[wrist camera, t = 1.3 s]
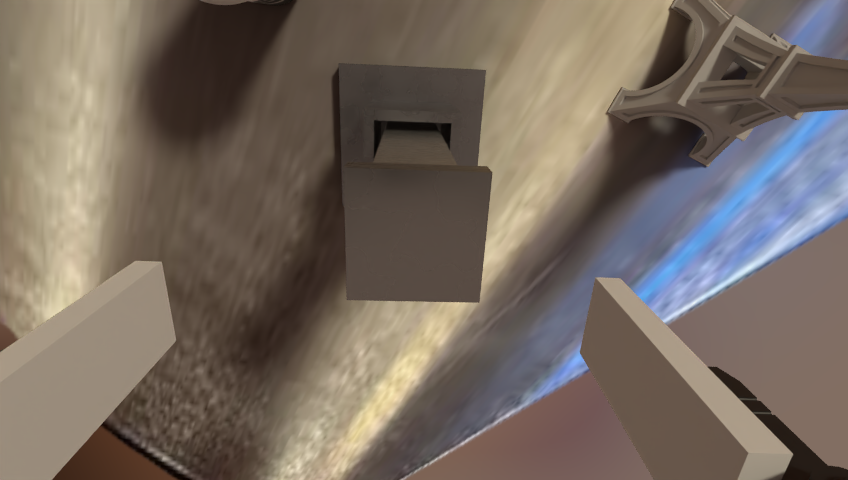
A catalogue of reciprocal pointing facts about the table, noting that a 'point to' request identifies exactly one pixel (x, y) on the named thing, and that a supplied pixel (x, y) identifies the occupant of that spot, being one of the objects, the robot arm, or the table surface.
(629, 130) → the table surface
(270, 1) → the coffee cup
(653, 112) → the eiffel tower
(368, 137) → the stand base
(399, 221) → the column
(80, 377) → the robot arm
